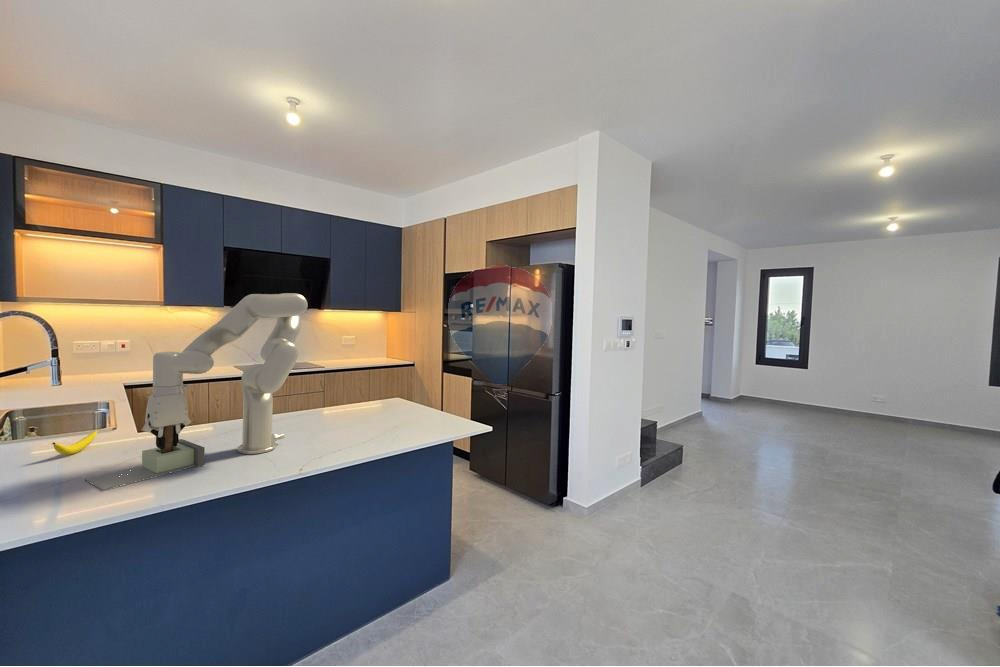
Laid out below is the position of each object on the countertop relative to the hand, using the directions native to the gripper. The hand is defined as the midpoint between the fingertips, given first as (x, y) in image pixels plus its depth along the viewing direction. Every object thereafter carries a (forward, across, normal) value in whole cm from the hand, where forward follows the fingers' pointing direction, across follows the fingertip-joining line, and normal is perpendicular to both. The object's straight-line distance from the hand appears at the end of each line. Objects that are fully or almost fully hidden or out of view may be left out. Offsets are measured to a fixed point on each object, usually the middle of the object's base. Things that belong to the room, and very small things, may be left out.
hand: (167, 446), depth 134 cm
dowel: (+3, 0, 0) cm, 3 cm away
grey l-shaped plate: (+7, +5, 0) cm, 8 cm away
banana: (+7, +11, -38) cm, 40 cm away
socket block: (+7, 0, 0) cm, 7 cm away
